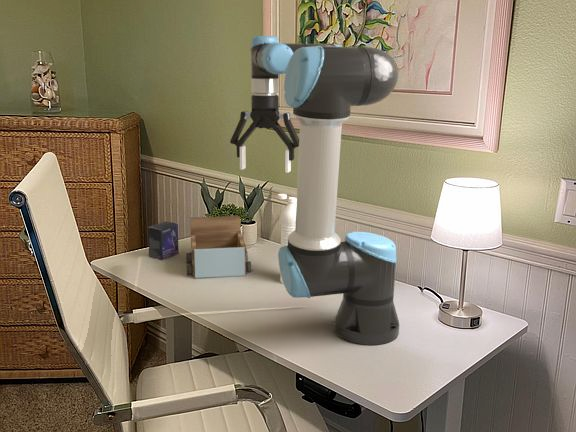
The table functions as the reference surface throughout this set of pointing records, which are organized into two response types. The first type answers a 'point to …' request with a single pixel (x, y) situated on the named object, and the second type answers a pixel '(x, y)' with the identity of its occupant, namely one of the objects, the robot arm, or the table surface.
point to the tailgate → (219, 262)
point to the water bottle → (287, 220)
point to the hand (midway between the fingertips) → (265, 170)
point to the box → (163, 240)
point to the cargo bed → (215, 237)
